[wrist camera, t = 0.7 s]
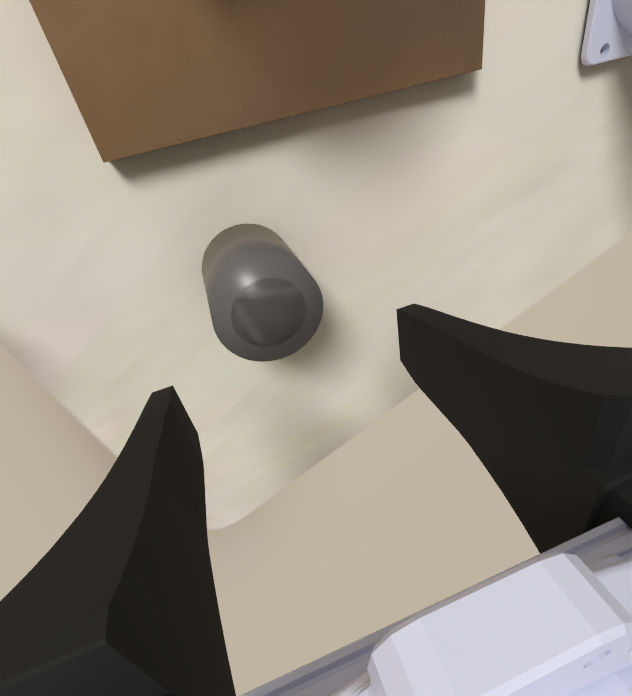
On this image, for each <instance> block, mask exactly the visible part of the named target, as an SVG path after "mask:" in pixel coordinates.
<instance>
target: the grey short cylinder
mask: <svg viewBox="0 0 632 696" xmlns="http://www.w3.org/2000/svg"><path fill="white" fill-rule="evenodd" d="M202 274H203V279H204V284H205V289H206V294H207V299H208V303H209V308H210V313H211V318H212V322H213V327H214V330H215V333H216V335H217V337H218V338H219V340H220V341H221V343H222V344H223V345H224V346H225V347H226V348H227V349H228V350H229V351H231V352H232V353H234V354H235V355H237V356H239V357H242V358H244V359H248V360H253V361H272V360H277V359H281V358H284V357H286V356H289V355H291V354H293V353H295V352H296V351H298V350H299V349H301V348H302V347H303V346H304V345H305V344H306V343H307V342H308V341H309V340H310V339H311V338H312V336H313V335H314V334H315V332H316V330H317V328H318V326H319V324H320V321H321V318H322V312H323V299H322V294H321V291H320V289H319V286H318V284H317V283H316V281H315V280H314V278H313V277H312V276H311V275H310V273H309V272H308V271H307V270H306V268H305V267H304V266H303V265H302V263H301V262H300V261H299V260H298V258H297V257H296V256H295V255H294V254H293V252H292V251H291V250H290V249H289V247H288V246H287V245H286V244H285V242H284V241H283V240H282V239H281V238H280V237H279V236H278V235H277V234H276V233H275V232H273V231H272V230H270V229H268V228H266V227H263V226H260V225H256V224H240V225H235V226H232V227H229V228H227V229H225V230H224V231H222V232H221V233H219V234H218V235H217V236H216V237H215V238H214V239H213V240H212V241H211V242H210V244H209V245H208V247H207V249H206V251H205V253H204V257H203V261H202Z"/></svg>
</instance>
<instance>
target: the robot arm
mask: <svg viewBox="0 0 632 696" xmlns="http://www.w3.org/2000/svg"><path fill="white" fill-rule="evenodd" d="M601 48H602V52H601V54H600V51H601ZM631 55H632V0H590V5H589V11H588V17H587V23H586V29H585V35H584V41H583V47H582V53H581V61H582V64H583V65H585V66H590V65H596V64H600V63H604V62H608V61H612V60H615V59H619V58H623V57H627V56H631ZM397 322H398V335H399V348H400V360H401V362H402V363H403V365H404V366H405V368H406V369H407V371H408V373H409V374H410V376H411V377H412V378H413V380H414V381H415V383H416V384H417V385H418V386H419V388H420V389H421V390H422V391H423V392H424V393H425V394H426V395H427V397H428V398H429V399H430V400H431V401H432V402H433V403H434V404H435V406H437V408H438V409H439V410H440V411H441V412H442V413H443V414H444V415H445V416H446V418H447V419H448V420H449V421H450V422H451V423H452V424H453V426H454V427H455V428H456V429H457V430H458V431H459V432H460V434H461V435H462V436H463V437H464V439H465V440H466V441H467V442H468V444H469V445H470V446H471V447H472V449H473V451H474V452H475V453H476V455H477V456H478V458H479V459H480V460H481V462H482V463H483V465H484V466H485V467H486V469H487V470H488V472H489V473H490V475H491V476H492V478H493V479H494V481H495V482H496V484H497V485H498V486H499V488H500V489H501V491H502V492H503V494H504V496H505V497H506V499H507V500H508V502H509V503H510V505H511V507H512V508H513V510H514V511H515V513H516V514H517V516H518V517H519V519H520V521H521V522H522V524H523V525H524V527H525V529H526V530H527V532H528V534H529V536H530V537H531V539H532V541H533V542H534V543H535V546H536V547H537V549H538V551H539V552H540V554H539V555H537V556H535V557H533V558H531V559H529V560H527V561H524V562H522V563H520V564H518V565H516V566H514V567H512V568H509V569H507V570H505V571H503V572H501V573H499V574H497V575H495V576H493V577H490V578H488V579H486V580H484V581H482V582H480V583H478V584H476V585H473V586H472V587H469V588H467V589H465V590H463V591H461V592H459V593H457V594H454V595H452V596H450V597H448V598H446V599H444V600H442V601H440V602H437V603H435V604H433V605H432V606H429V607H427V608H425V609H423V610H421V611H418V612H416V613H414V614H412V615H410V616H408V617H406V618H404V619H401V620H399V621H397V622H395V623H393V624H391V625H389V626H387V627H385V628H382V629H380V630H378V631H376V632H374V633H372V634H370V635H368V636H365V637H363V638H361V639H359V640H357V641H355V642H353V643H351V644H349V645H346V646H344V647H342V648H340V649H338V650H336V651H334V652H332V653H330V654H327V655H325V656H323V657H321V658H319V659H317V660H315V661H313V662H311V663H308V664H306V665H304V666H302V667H300V668H298V669H296V670H293V671H291V672H289V673H287V674H285V675H283V676H281V677H279V678H277V679H275V680H272V681H270V682H268V683H266V684H264V685H262V686H260V687H257V688H255V689H253V690H251V691H249V692H247V693H245V694H243V695H241V696H632V348H622V347H605V346H591V345H581V344H572V343H564V342H557V341H550V340H543V339H538V338H533V337H528V336H523V335H518V334H514V333H509V332H505V331H501V330H498V329H494V328H490V327H486V326H483V325H480V324H476V323H473V322H470V321H467V320H464V319H460V318H457V317H454V316H451V315H448V314H445V313H443V312H440V311H437V310H434V309H431V308H427V307H424V306H421V305H417V304H411V305H408V306H406V307H403V308H400V309H397ZM0 696H236V694H235V689H234V685H233V680H232V675H231V670H230V665H229V661H228V656H227V651H226V645H225V640H224V635H223V630H222V625H221V620H220V614H219V608H218V603H217V597H216V591H215V585H214V580H213V573H212V568H211V561H210V555H209V548H208V538H207V524H206V504H205V484H204V466H203V458H202V453H201V447H200V442H199V437H198V433H197V431H196V429H195V427H194V425H193V423H192V421H191V420H190V418H189V416H188V414H187V412H186V410H185V408H184V406H183V404H182V402H181V400H180V398H179V397H178V395H177V393H176V391H175V389H174V387H173V386H170V387H167V388H165V389H162V390H159V391H156V392H153V393H152V394H151V396H150V398H149V399H148V401H147V403H146V405H145V407H144V409H143V411H142V413H141V415H140V417H139V419H138V421H137V423H136V425H135V427H134V429H133V431H132V433H131V435H130V437H129V439H128V441H127V442H126V444H125V446H124V448H123V450H122V452H121V453H120V455H119V457H118V458H117V460H116V462H115V463H114V465H113V467H112V468H111V470H110V472H109V473H108V475H107V476H106V478H105V480H104V481H103V483H102V484H101V485H100V487H99V488H98V490H97V491H96V493H95V494H94V495H93V497H92V498H91V500H90V501H89V502H88V504H87V505H86V506H85V508H84V509H83V510H82V512H81V513H80V514H79V516H78V517H77V518H76V519H75V520H74V522H73V523H72V524H71V525H70V526H69V528H68V529H67V530H66V531H65V532H64V534H63V535H62V536H61V537H60V538H59V540H58V541H57V542H56V543H55V544H54V546H53V547H52V548H51V549H50V550H49V552H47V553H46V555H45V556H44V557H43V558H42V559H41V560H40V561H39V562H38V563H37V565H35V567H34V568H33V569H32V570H31V571H30V572H29V573H28V574H27V575H26V576H25V577H24V578H23V579H22V580H21V581H20V582H19V583H18V584H17V585H16V586H15V587H14V588H13V589H12V590H11V591H10V592H9V593H8V594H7V595H6V596H5V597H4V598H3V599H2V600H1V601H0Z"/></svg>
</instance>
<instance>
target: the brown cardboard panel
mask: <svg viewBox="0 0 632 696" xmlns="http://www.w3.org/2000/svg"><path fill="white" fill-rule="evenodd" d="M29 1H30V3H31V5H32V7H33V9H34V12H35V14H36V16H37V18H38V20H39V22H40V25H41V27H42V29H43V31H44V33H45V36H46V38H47V40H48V42H49V44H50V46H51V49H52V51H53V53H54V55H55V57H56V60H57V62H58V64H59V66H60V68H61V70H62V73H63V75H64V77H65V79H66V81H67V84H68V86H69V88H70V90H71V92H72V94H73V97H74V99H75V101H76V103H77V105H78V108H79V110H80V112H81V114H82V116H83V118H84V121H85V123H86V125H87V127H88V129H89V132H90V134H91V136H92V138H93V140H94V143H95V145H96V147H97V149H98V151H99V153H100V156H101V158H102V160H103V162H108V161H112V160H116V159H120V158H124V157H128V156H132V155H136V154H140V153H144V152H148V151H152V150H156V149H160V148H164V147H168V146H173V145H177V144H181V143H185V142H189V141H193V140H197V139H201V138H205V137H209V136H213V135H217V134H221V133H225V132H229V131H233V130H237V129H241V128H245V127H249V126H253V125H257V124H261V123H266V122H270V121H274V120H278V119H282V118H286V117H290V116H294V115H298V114H302V113H306V112H310V111H314V110H318V109H322V108H326V107H330V106H334V105H338V104H342V103H346V102H350V101H354V100H358V99H363V98H367V97H371V96H375V95H379V94H383V93H387V92H391V91H395V90H399V89H403V88H407V87H411V86H415V85H419V84H423V83H427V82H431V81H435V80H439V79H443V78H447V77H451V76H456V75H460V74H464V73H468V72H472V71H476V70H480V69H482V53H483V33H484V12H485V0H29Z"/></svg>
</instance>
